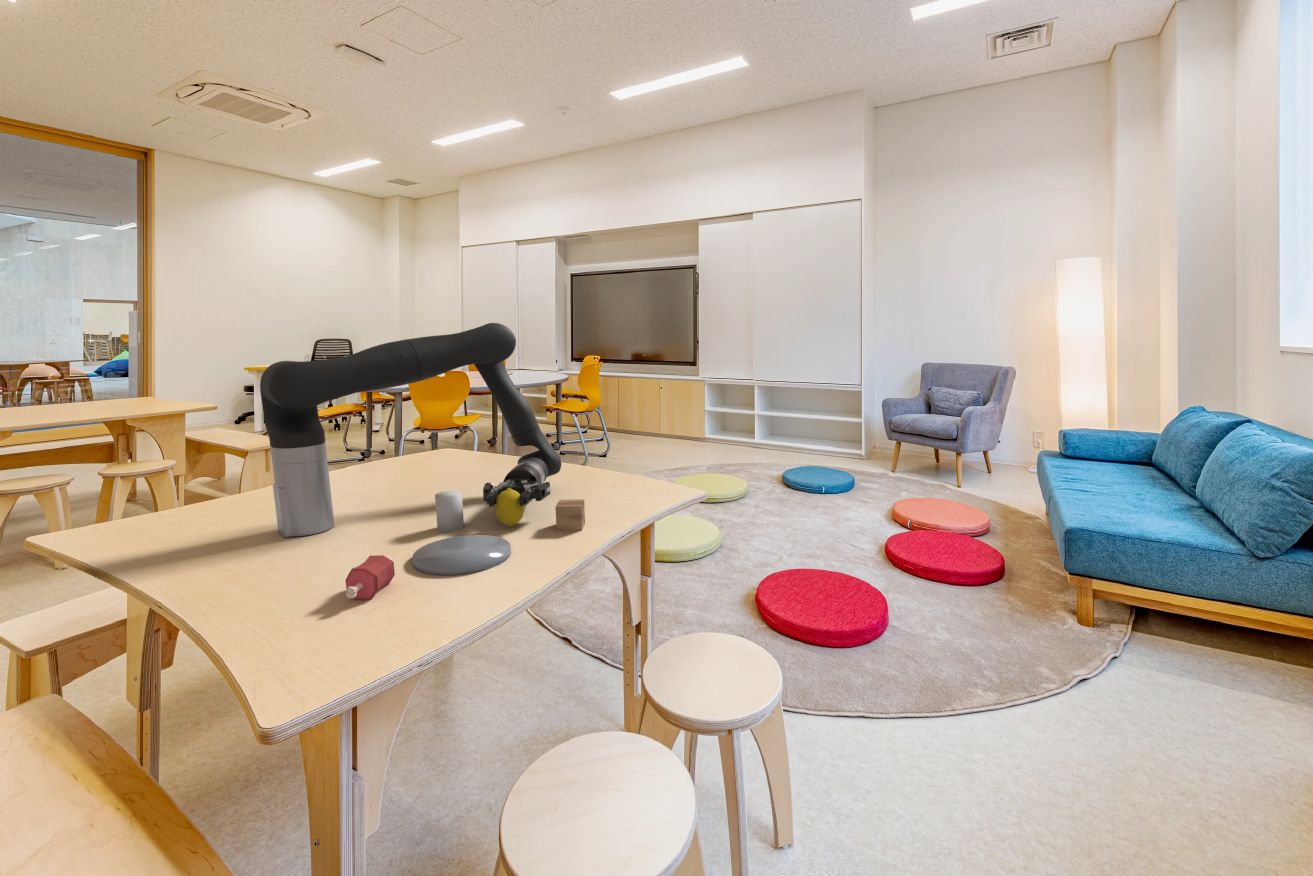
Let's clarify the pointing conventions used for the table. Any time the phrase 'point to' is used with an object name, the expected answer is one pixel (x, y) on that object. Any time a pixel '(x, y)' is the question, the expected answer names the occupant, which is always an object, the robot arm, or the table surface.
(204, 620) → the table surface
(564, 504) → the walnut block
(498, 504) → the lemon
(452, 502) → the grey cylinder
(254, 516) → the table surface
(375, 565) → the meat
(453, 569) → the slate dish
